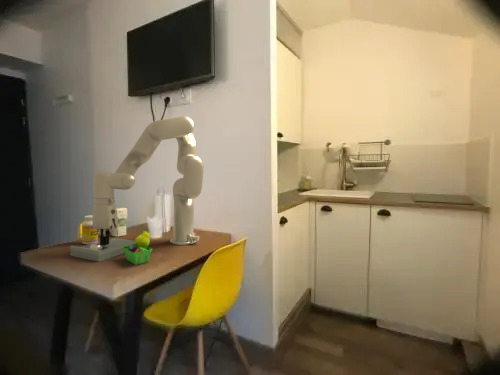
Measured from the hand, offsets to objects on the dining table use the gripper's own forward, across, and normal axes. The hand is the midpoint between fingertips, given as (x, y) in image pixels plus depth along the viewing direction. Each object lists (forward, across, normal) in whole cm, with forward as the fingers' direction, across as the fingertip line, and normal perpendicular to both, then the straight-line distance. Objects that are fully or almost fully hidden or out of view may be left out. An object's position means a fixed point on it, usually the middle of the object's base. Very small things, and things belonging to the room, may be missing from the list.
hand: (104, 244), depth 120 cm
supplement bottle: (+4, +18, -8) cm, 20 cm away
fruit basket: (+4, -20, +2) cm, 20 cm away
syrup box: (+4, +18, -24) cm, 31 cm away
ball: (+1, 0, +4) cm, 4 cm away
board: (+3, 0, -2) cm, 4 cm away
